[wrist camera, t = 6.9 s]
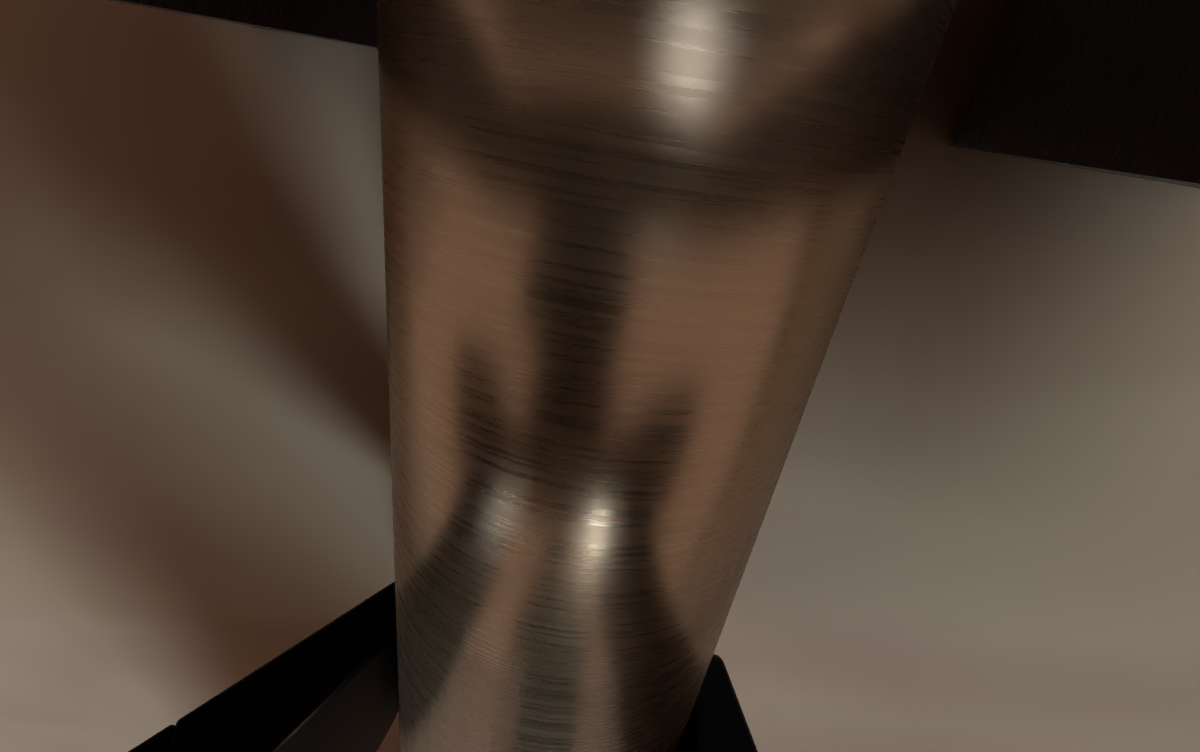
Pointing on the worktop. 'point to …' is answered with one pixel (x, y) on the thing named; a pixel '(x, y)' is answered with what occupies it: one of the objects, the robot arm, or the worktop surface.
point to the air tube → (610, 331)
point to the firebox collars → (1003, 87)
